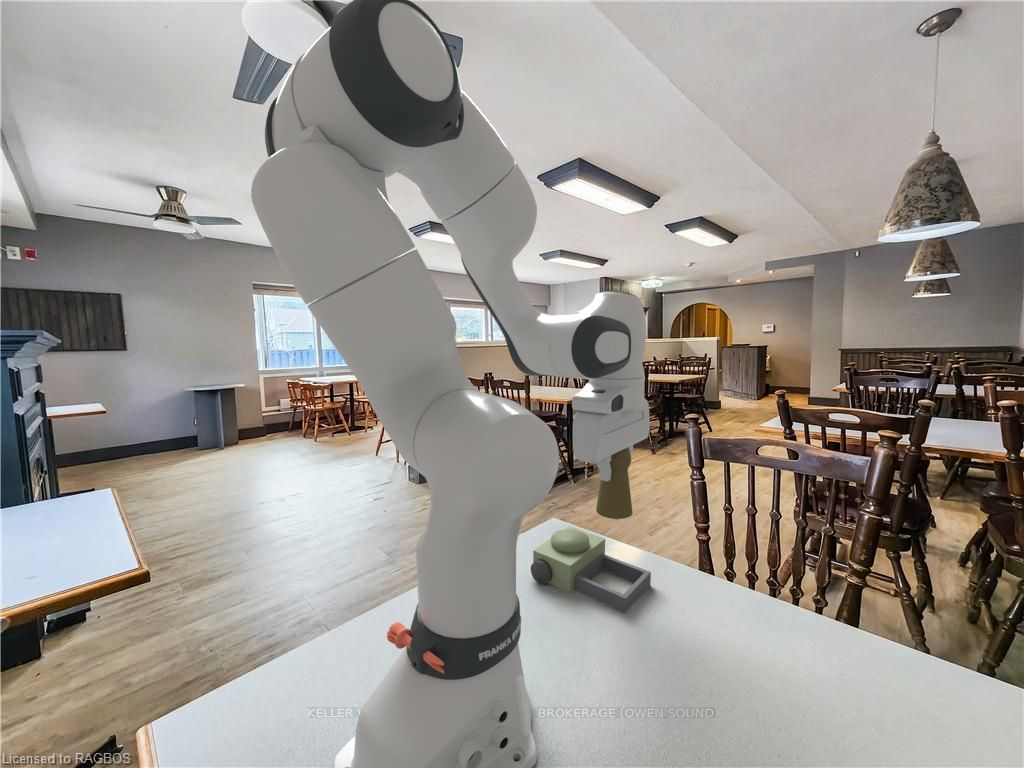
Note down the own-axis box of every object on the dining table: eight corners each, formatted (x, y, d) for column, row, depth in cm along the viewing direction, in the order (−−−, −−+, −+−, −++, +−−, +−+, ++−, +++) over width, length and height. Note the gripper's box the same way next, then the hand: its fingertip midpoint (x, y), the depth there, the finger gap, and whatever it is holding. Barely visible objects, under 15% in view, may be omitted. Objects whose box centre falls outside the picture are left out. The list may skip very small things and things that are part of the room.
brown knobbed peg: (625, 522, 69) (626, 455, 67) (590, 513, 72) (590, 450, 71) (637, 508, 74) (638, 446, 72) (604, 501, 77) (604, 441, 76)
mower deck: (618, 621, 67) (619, 584, 66) (529, 578, 78) (529, 546, 77) (655, 579, 77) (657, 546, 77) (572, 547, 89) (573, 518, 88)
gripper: (626, 384, 80) (625, 456, 82) (565, 400, 65) (565, 488, 67) (660, 387, 76) (657, 463, 78) (602, 404, 61) (601, 498, 63)
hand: (614, 475), depth 72 cm, fingers closed on brown knobbed peg, 4 cm apart
